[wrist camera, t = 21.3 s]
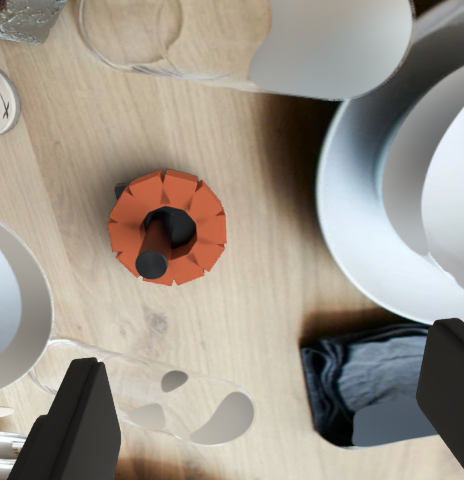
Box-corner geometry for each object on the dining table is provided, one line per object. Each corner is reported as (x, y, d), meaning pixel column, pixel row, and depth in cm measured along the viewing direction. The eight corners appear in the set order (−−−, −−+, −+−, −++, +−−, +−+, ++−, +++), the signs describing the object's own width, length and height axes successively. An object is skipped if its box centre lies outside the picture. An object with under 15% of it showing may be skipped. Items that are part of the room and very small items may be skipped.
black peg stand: (117, 183, 36) (85, 219, 25) (197, 177, 36) (200, 209, 26) (130, 256, 39) (106, 316, 28) (204, 249, 39) (209, 306, 29)
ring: (106, 172, 34) (99, 178, 31) (220, 165, 35) (223, 170, 32) (124, 277, 38) (119, 290, 35) (226, 269, 39) (228, 281, 36)
